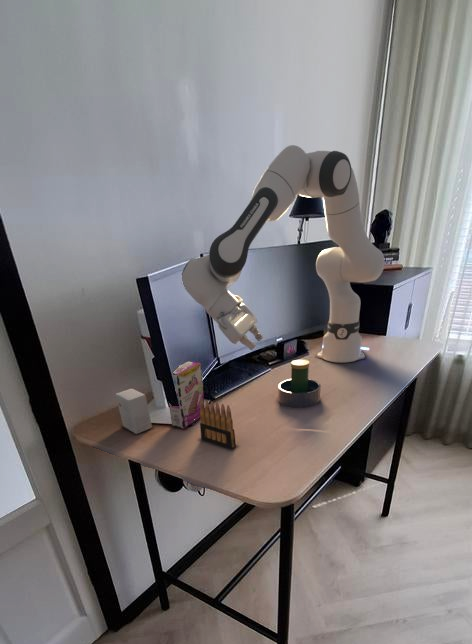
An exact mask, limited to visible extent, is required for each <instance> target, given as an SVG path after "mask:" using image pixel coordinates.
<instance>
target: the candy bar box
mask: <svg viewBox="0 0 472 644" xmlns="http://www.w3.org/2000/svg"><path fill="white" fill-rule="evenodd" d="M178 366H179V367H178V368H177V369H176V370H175V371H174V372H173V379H174V385H175V391H176V394H177V396H178V399H179V406H172V405H171V404H170V403H169V402H168V406H169V413H170V420H171V426H172V427H174V428H179V429H182V430H185V429H186V428H188V427H190V426H191V425H193V424H194V423H196V422H197V421H198V420H201V418H200V400H201V398H202V400H203V402H204V406H205V394H204V382H203V373H202V363H201V362H195V361H186V362H184V363H181V364H180V365H178ZM194 419H195V420H194Z"/></svg>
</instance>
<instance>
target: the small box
mask: <svg viewBox="0 0 472 644" xmlns="http://www.w3.org/2000/svg"><path fill="white" fill-rule="evenodd" d="M114 395H115V399H116V404H117V407H118V411H119V416H120V419H121V423H122V427H124V428H125V429H127V430H128V431H130V432H132V433H133V434H135V435H138V434H141V433H143V432H145V431H148V430H150V429H152V428H153V424H152V420H151V415H150V410H149V405H148V400H147V395H146V394H145V393H142V392H141V391H138V390H136V389H134V388H129V389H126V390H123V391H120V392H116V393H115V394H114Z"/></svg>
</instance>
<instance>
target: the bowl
mask: <svg viewBox="0 0 472 644" xmlns="http://www.w3.org/2000/svg"><path fill="white" fill-rule="evenodd" d="M277 389H278V390H277V392H278V393H277V401H278V402H279V403H280V405H282V406H286V407H289V408H297V409H300V408H302V409H303V408H309V407H312V406H315V405H317V404H319V403H320V400H321V389H322V384H321V383H320V382H319V381H317V380H314V379H312V378H311V379H310V378H308V392H306V393H292V392H291V378H289V379H285V380H283V381H281V382H280V383H278V386H277Z"/></svg>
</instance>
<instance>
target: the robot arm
mask: <svg viewBox="0 0 472 644" xmlns="http://www.w3.org/2000/svg"><path fill="white" fill-rule="evenodd" d="M297 197H305V198H311V199H315V198H322V200H323V209H324V216H325V217H324V218H325V225H326V230H327V236H328V237H329V239H330V240H331V241H332V242H334V243H335V244H336V245H338V246H334V247H329V248H325V249H323V250H321V252H319V254H318V255H317V258H316V261H315V270H316V274H317V275H318V277H319V278H320V279H321V280H322V281H323V283H324V285H325V287H326V289H327V292H328V297H329V319H328V321H327V332H326V333H325V334H324V336H323V338H322V345H321V346H322V348H321V351H319V352H318V353H317V355H316V357H317V358H319V359H322V360H325V361H327V362H331V363H351V362H356V361H358V360H363V359H366V355H365V353H364V352H363V350H365V351H369V350H370V348H369V347H364V346H362V341H363V337H362V335H361V334H360V332H359V331H360V327H361V326H360V311H361V298H360V296H359V295H358V294H357V293H356V292H355V291H354V290H353V289H352V286H351V283H359V284H360V283H369V282H373V281H377V280H378V279H379V277H381V275H382V273H383V271H384V269H385V264H386V263H385V262H386V260H385V255H384V254H383V252H382V250H380V249H379V248H377V247H376V246H375V245H374V244H373V242H371V239H369V237H368V235H367V233H366V230H365V228H364V225H363V219H362V214H361V204H360V195H359V188H358V182H357V179H356V175H355V171H354V169H353V167H352V164H351V161H350V159H349V157H348V155H346V154H345V153H344V152H342V151H339V150H331V151H329V150H316V151H312V152H306V151H305V150H304V148H301V147H300V146H298V145H294V144H291V145H287V146H286V147H284V148H283V149H282V150H281V151H280V152H279V153H278V155H276V157H275V158H274V159H273V160H272V161H271V162H270V163H269V165H268V167H266V168H265V171H264V172H263V174H262V175H261V177H260V178H259V180H258V182H257V184H256V185H255V187H254V190H253V192H252V195H251V197H250V201H249V203H248V204H247V205H246V208H245V209H243V211H242V213H241V214H240V216H239V217H238V218H237V220H236V221H235V222H234V224H233V225H232V227H230V228H229V229H228V230H226V231H225V232H223V233H220V235H218V236H217V237H215V239H214V240H213V242H211V245H210V247H209V253H208V254H206V255H204V256H200V257H192V258H190V259H189V260H188V261H187V263H186V264H185V266H184V268H183V269H182V272H181V275H182V281H183V285H184V287H185V288H184V287H183V288H184V290H185V291H186V292H187V293H188V294H189V295H190V297H191V298H192V299H193V300H194V301H195V302H196V303H197V304H198V305H200V306H202V307H203V309H204V310H205V312H206V313H207V314H208V315H209V316H210V317H211V318H212V320H214V321H215V323H216V324H217V327H218V328H219V330H220V331H221V332H222V334H223V335H224V336H225V337H226V338H227V339H228V341H230V343H232V344H234V345H236V344H237V343H241V344H242V345H244V346H246V347H247V348H248V349H249V350H250V351H253V350H254V349H255V348H256V346H257V344H256V343H255V342H254V341H253V340H251V339H249V338H248V336H247V335H246V334H247V333H248V332H250V333H251V334H252V335H253V337H254V339H255V340H256V341H257V342H260V341H262V339H263V338H264V335H263V334H262V333H261V332H260V329H259V328H258V327H257V325H256V324H257V323H258V319H257V317H256V316H255V314H254V313H253V312H252V310H251V309H250V308H249V307H248V306H247V305H246V304H245V303H244V302H243V301H244V300H243V298H241V296H239V295H236V294H233V293H231V292H230V291H229V290H228V288H229V287H230V286H232V285H233V284H235V283H236V282H237V281H238V279H239V278H240V276H241V274H242V271H243V268H244V267H245V265H246V263H247V259H248V256H249V255H248V254H249V249H250V246H251V244H253V241H254V240H255V238H256V237H257V236H258V234H259V233H260V231H261V230H262V228H263V227H264V226H265V225H266V223H268V222H276V221H278V220H279V219H280V218H281V217H282V216H283V215H284V214H285V213H286V212H287V211H288V210H289V208H290V207H291V206H292V204H293V203H294V202H295V199H296V198H297ZM183 285H182V286H183Z"/></svg>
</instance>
